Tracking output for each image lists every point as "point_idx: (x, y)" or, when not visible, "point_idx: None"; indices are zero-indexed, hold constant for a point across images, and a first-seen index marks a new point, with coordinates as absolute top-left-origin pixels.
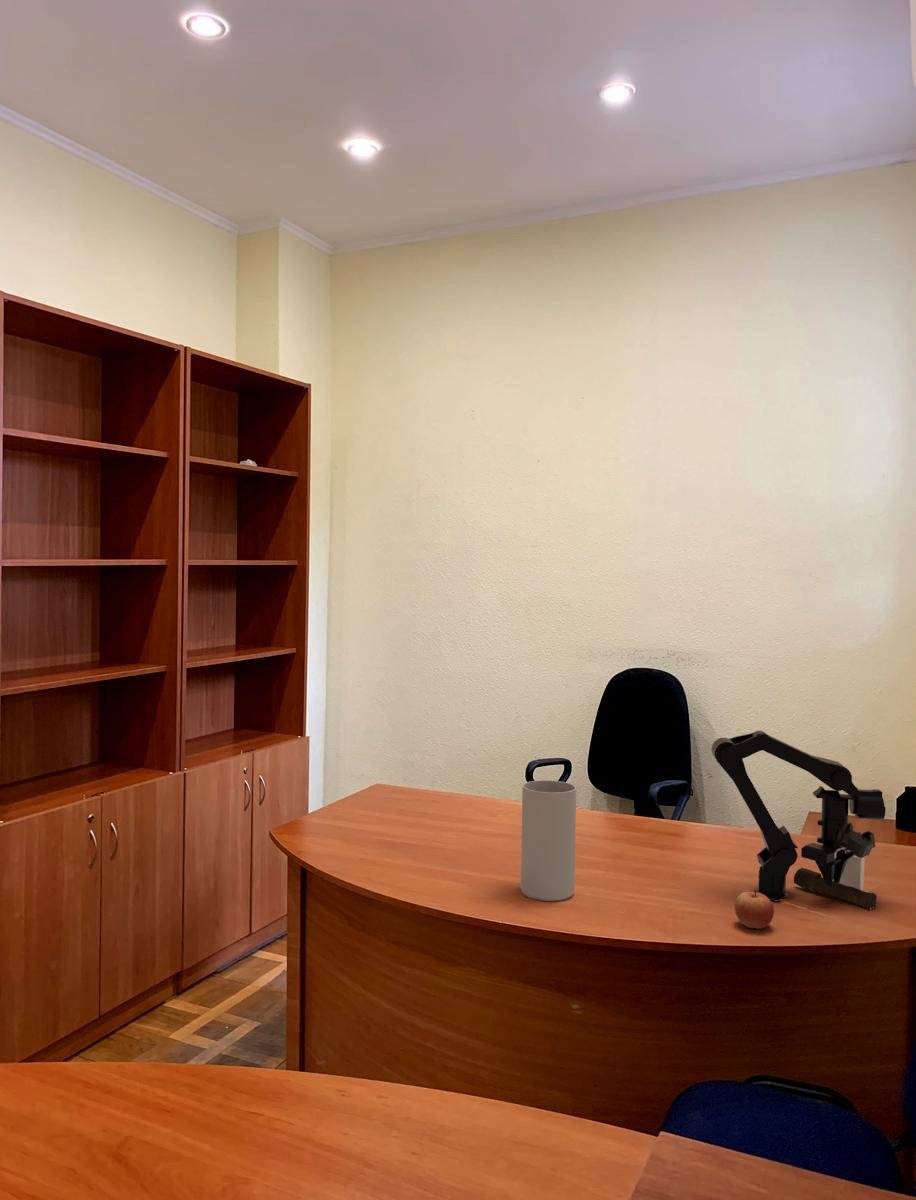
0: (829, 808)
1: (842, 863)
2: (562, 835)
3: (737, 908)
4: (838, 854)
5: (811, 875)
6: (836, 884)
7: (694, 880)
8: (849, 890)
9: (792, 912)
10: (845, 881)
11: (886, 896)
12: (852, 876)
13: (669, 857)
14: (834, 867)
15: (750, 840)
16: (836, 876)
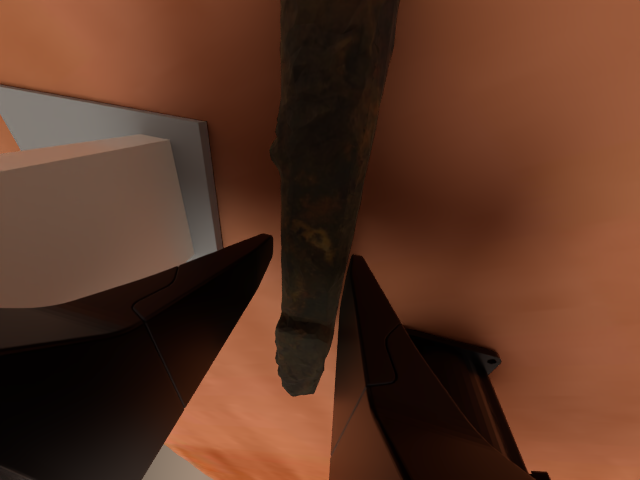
0: None
1: (163, 318)
2: None
3: None
4: (82, 446)
5: (327, 353)
6: (327, 236)
7: None
8: (360, 134)
9: (616, 301)
10: (161, 220)
11: (65, 16)
12: (118, 202)
13: (317, 468)
14: (371, 365)
15: None
16: (257, 266)
